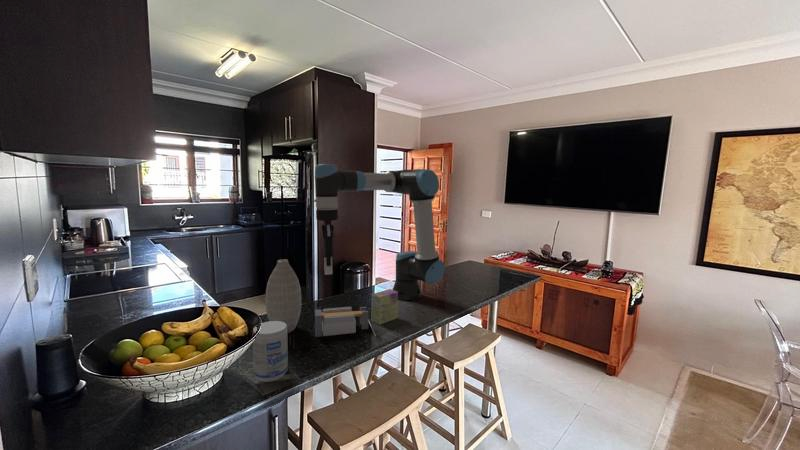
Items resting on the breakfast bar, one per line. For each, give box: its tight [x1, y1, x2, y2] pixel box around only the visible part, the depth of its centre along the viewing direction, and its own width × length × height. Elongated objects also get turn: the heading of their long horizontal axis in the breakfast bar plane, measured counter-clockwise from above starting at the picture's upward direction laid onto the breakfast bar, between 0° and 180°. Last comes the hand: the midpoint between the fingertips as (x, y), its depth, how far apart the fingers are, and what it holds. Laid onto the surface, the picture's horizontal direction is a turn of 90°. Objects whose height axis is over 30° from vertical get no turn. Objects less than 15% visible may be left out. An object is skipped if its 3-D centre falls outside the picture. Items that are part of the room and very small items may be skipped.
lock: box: [314, 309, 323, 338], centre depth 121 cm, size 2×6×8 cm, turn 16°
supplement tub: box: [252, 320, 289, 383], centre depth 96 cm, size 10×10×15 cm
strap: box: [322, 310, 365, 321], centre depth 126 cm, size 19×4×2 cm, turn 106°
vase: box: [265, 258, 302, 334], centre depth 123 cm, size 13×13×28 cm
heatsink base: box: [322, 306, 377, 338], centre depth 126 cm, size 24×18×8 cm
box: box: [370, 288, 399, 325], centre depth 138 cm, size 10×6×12 cm, turn 134°
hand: (328, 273), depth 117 cm, fingers closed
